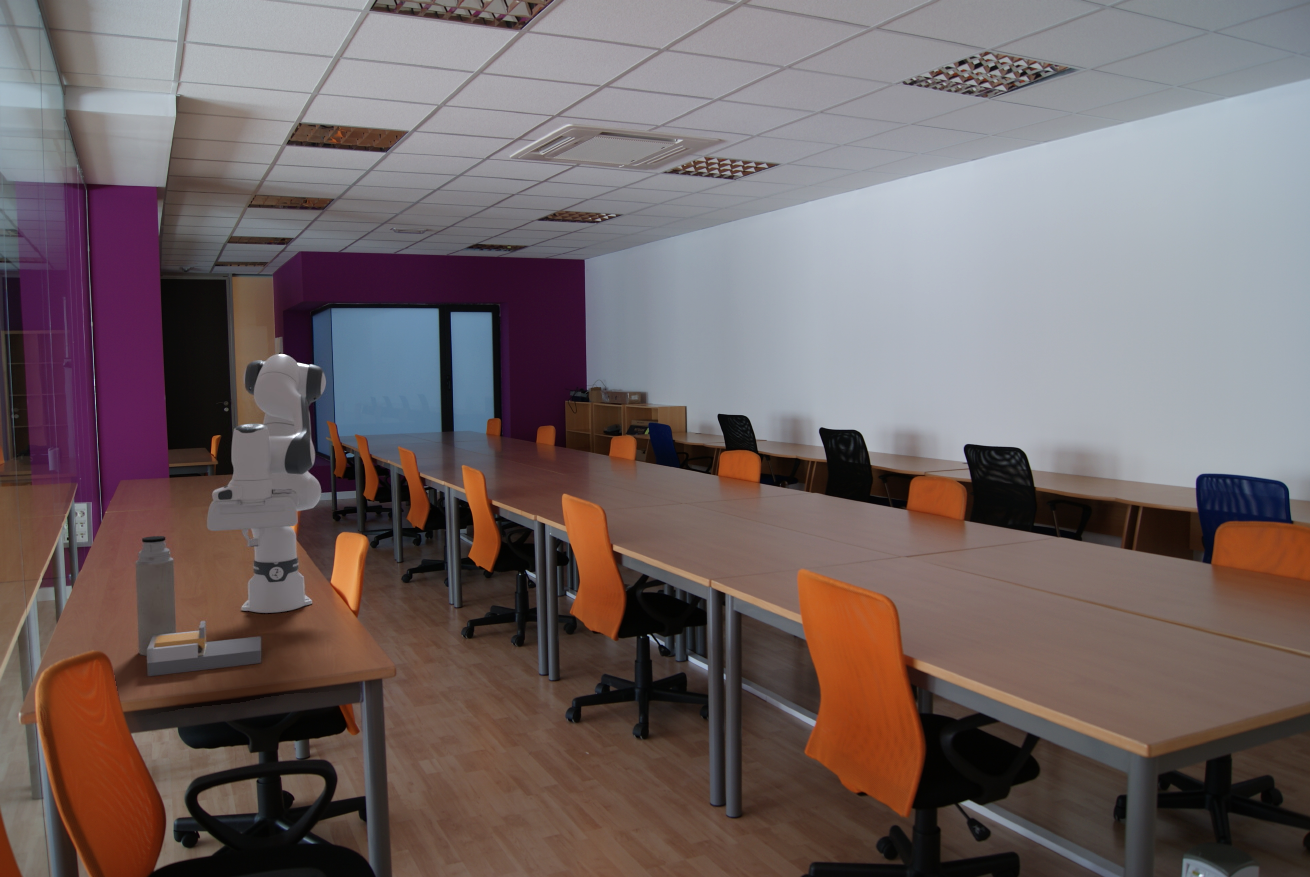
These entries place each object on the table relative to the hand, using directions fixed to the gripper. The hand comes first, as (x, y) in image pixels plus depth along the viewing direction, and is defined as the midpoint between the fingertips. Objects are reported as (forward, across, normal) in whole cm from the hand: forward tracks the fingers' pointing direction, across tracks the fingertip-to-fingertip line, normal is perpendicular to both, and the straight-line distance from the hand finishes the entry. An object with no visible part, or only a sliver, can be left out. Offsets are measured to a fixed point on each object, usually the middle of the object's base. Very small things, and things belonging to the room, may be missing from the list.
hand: (254, 546), depth 213 cm
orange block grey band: (+22, +16, +8) cm, 28 cm away
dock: (+25, +10, +8) cm, 28 cm away
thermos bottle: (+25, +22, -6) cm, 34 cm away
